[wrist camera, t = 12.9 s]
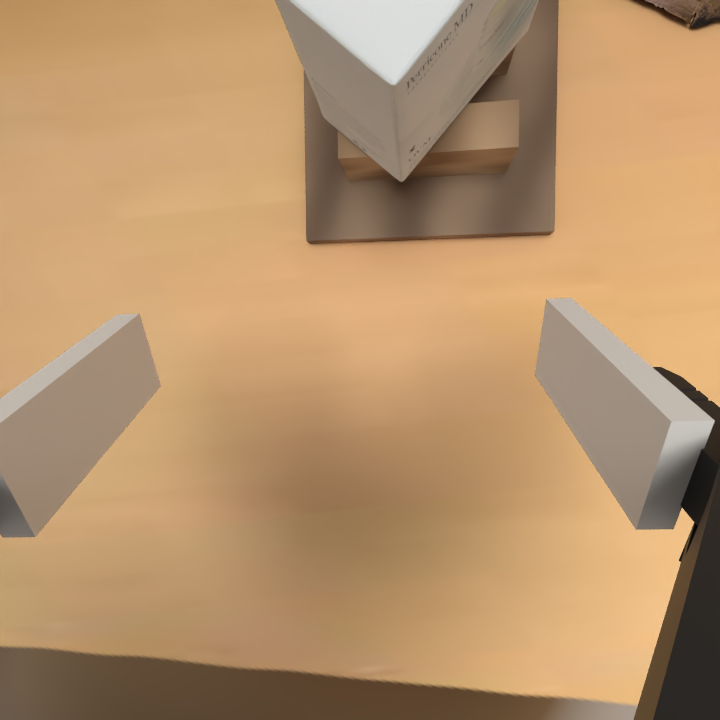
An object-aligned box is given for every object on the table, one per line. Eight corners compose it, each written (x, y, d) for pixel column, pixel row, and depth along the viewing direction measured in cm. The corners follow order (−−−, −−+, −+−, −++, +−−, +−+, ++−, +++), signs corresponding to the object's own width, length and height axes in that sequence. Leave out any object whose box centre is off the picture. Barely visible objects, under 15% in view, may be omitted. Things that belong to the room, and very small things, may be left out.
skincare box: (406, 189, 25) (393, 89, 15) (321, 118, 26) (252, -27, 15) (536, 30, 24) (623, -203, 13) (443, -42, 24) (458, -322, 14)
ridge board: (310, 243, 31) (288, 227, 26) (306, 4, 30) (283, -59, 25) (549, 234, 29) (575, 214, 24) (554, -25, 28) (582, -101, 23)
